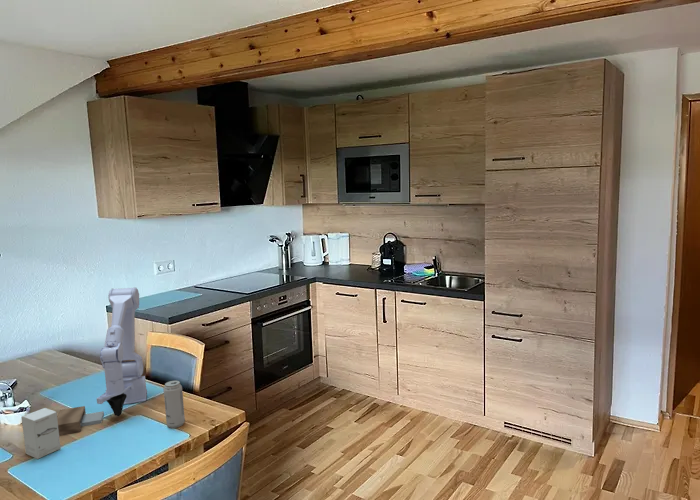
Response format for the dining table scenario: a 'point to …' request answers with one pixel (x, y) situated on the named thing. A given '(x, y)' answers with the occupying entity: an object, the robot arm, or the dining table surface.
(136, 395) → the robot arm
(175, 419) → the energy drink can
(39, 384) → the dining table surface
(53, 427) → the supplement box
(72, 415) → the walnut shelf
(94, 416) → the slate tile
